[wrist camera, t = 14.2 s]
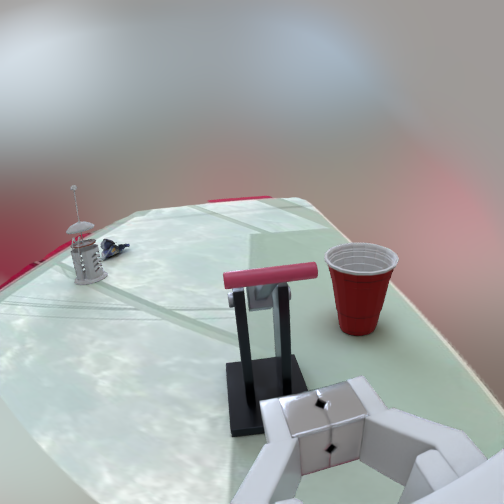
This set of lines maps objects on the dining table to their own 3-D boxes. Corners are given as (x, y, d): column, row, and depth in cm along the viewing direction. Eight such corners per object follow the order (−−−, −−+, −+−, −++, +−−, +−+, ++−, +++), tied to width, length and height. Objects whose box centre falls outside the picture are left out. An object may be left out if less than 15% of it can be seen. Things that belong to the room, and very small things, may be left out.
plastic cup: (329, 350, 43) (331, 269, 39) (319, 313, 53) (318, 244, 49) (401, 341, 42) (411, 263, 38) (380, 307, 52) (384, 240, 49)
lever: (320, 286, 20) (314, 249, 21) (225, 298, 20) (221, 260, 20) (289, 306, 33) (285, 283, 33) (230, 313, 32) (227, 290, 33)
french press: (111, 269, 85) (95, 180, 77) (101, 284, 74) (82, 184, 66) (80, 273, 83) (63, 187, 76) (67, 289, 72) (46, 191, 65)
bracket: (317, 424, 30) (322, 300, 26) (232, 437, 29) (209, 314, 25) (294, 361, 41) (290, 255, 37) (226, 370, 41) (211, 264, 36)
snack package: (90, 258, 98) (105, 262, 91) (88, 239, 97) (104, 240, 90) (119, 253, 108) (137, 256, 101) (118, 235, 107) (136, 237, 100)
